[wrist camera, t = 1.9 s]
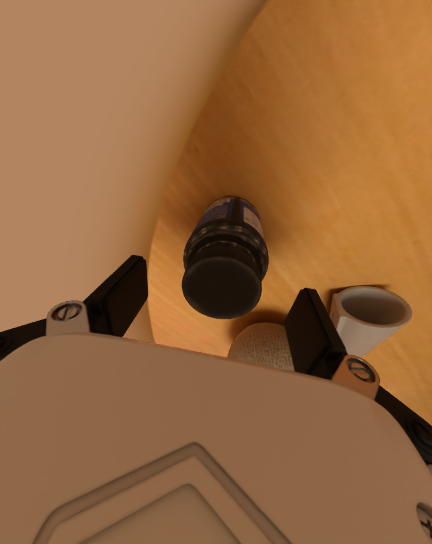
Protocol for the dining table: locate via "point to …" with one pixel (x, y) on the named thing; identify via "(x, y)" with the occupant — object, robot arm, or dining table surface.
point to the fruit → (263, 346)
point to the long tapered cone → (367, 317)
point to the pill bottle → (225, 260)
